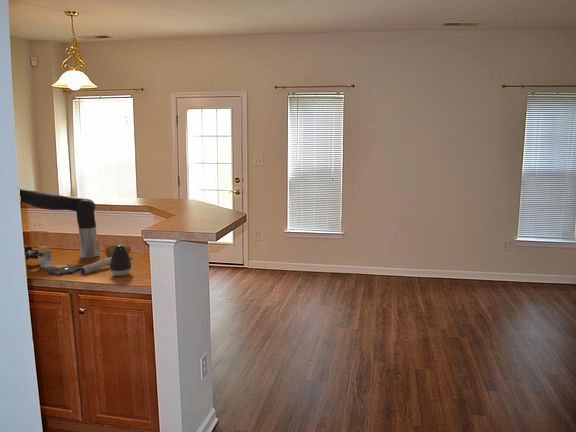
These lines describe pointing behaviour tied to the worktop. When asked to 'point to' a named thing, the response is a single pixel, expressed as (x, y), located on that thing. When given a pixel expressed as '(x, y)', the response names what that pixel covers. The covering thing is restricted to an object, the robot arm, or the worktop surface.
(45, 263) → the grey translucent cylinder
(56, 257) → the worktop surface
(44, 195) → the robot arm
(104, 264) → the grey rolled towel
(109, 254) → the potato
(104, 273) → the worktop surface
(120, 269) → the black egg-shaped piece
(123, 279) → the worktop surface
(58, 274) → the sprocket
